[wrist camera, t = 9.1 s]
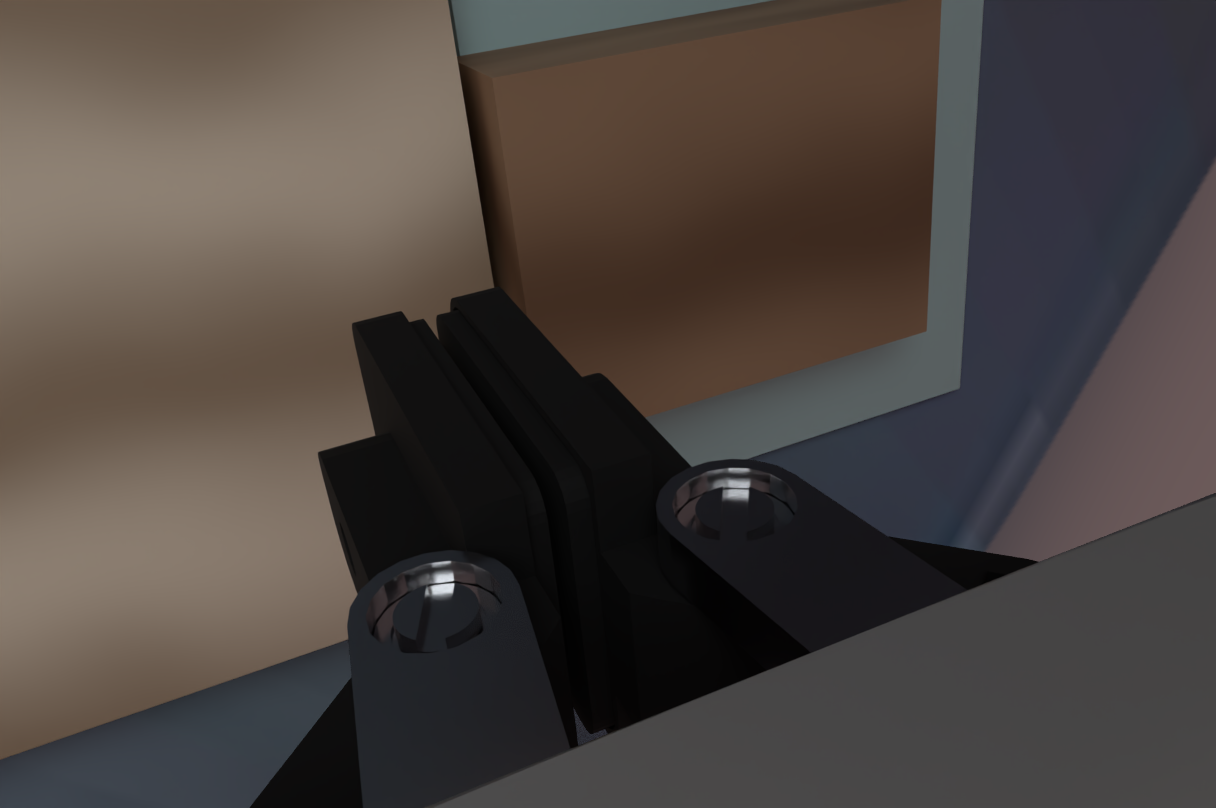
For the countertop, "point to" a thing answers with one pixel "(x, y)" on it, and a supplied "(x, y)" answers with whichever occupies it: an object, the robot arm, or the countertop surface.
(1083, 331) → the countertop surface
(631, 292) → the walnut tile
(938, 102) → the teal mat
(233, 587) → the ash deck
